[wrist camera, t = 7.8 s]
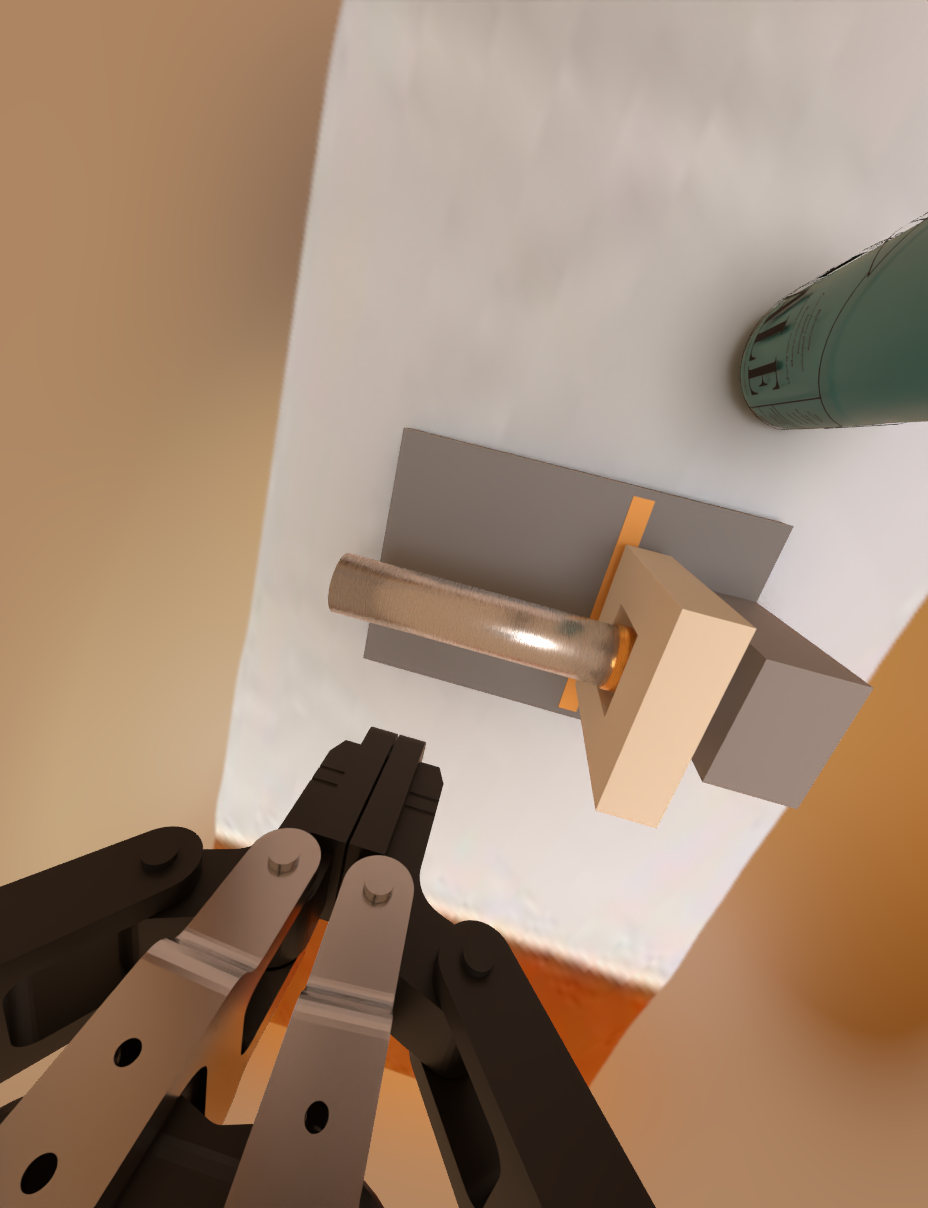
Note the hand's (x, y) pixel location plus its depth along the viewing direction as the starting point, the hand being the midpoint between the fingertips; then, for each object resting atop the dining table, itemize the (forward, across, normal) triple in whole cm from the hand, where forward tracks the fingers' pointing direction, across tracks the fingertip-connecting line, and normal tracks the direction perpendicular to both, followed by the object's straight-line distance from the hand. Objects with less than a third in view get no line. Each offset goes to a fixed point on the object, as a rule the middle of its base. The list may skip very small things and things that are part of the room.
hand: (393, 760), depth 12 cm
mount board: (+19, -4, 0) cm, 20 cm away
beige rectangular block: (+16, -9, 0) cm, 19 cm away
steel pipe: (+13, -3, 0) cm, 13 cm away
